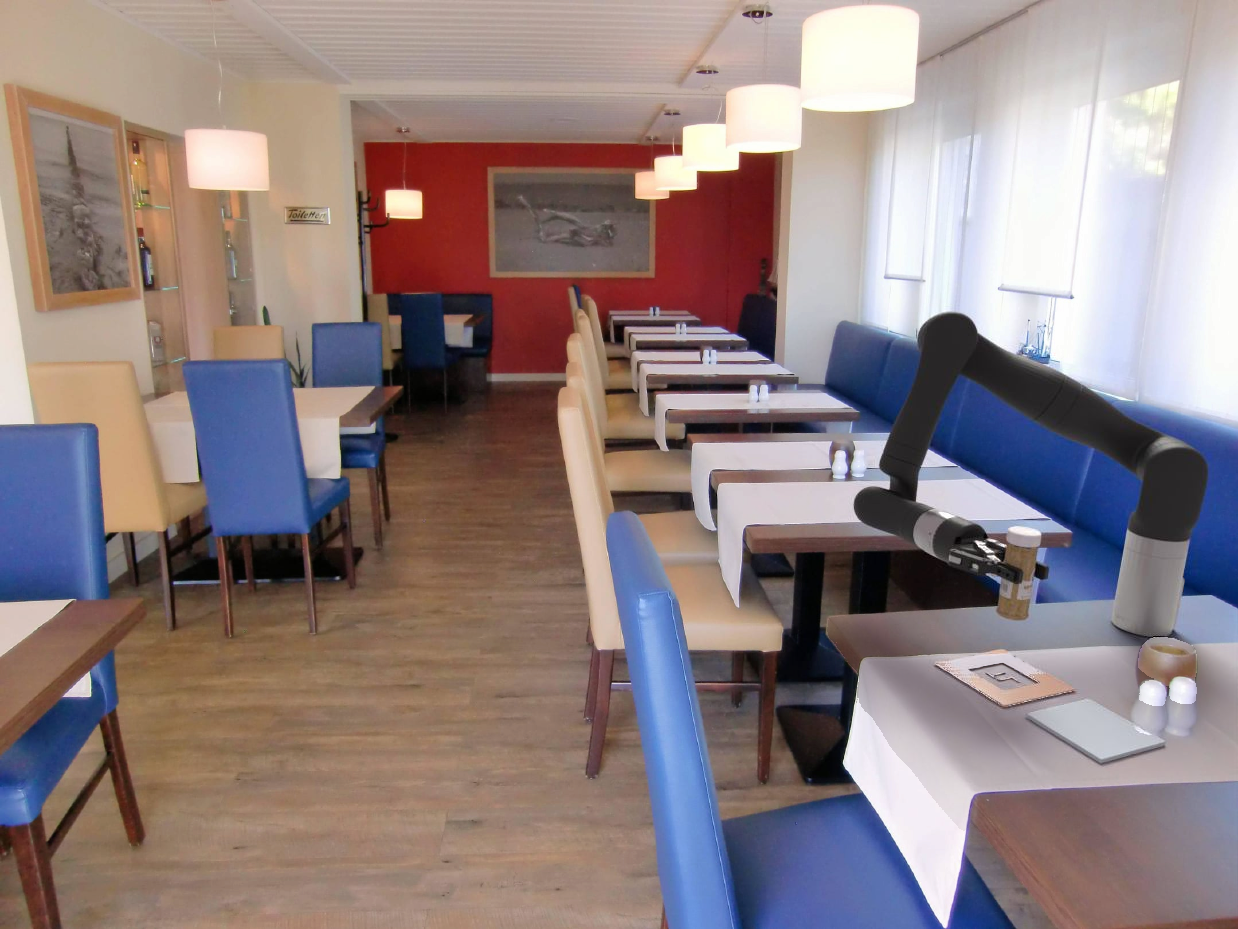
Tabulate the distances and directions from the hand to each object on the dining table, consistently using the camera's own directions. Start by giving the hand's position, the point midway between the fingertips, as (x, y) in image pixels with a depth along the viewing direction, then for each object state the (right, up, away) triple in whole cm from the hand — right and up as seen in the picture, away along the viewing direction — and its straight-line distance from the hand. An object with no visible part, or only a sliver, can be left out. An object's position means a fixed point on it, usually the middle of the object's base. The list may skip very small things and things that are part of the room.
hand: (1033, 575), depth 128 cm
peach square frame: (-2, -16, +7) cm, 18 cm away
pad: (+5, -20, -7) cm, 22 cm away
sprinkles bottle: (-1, -7, +4) cm, 8 cm away
